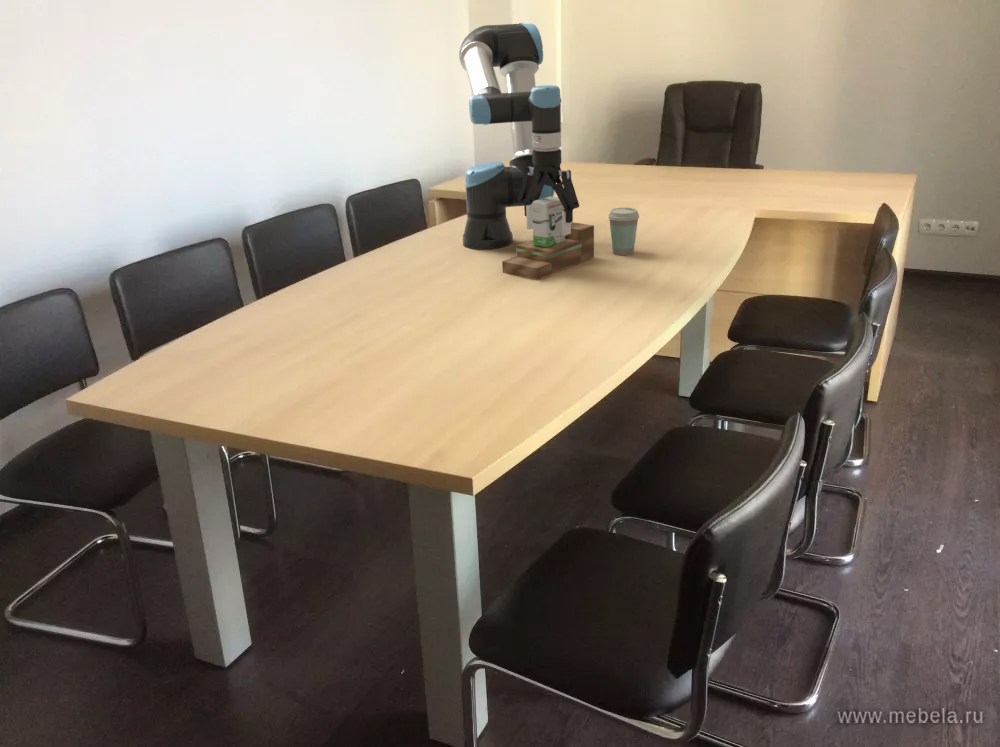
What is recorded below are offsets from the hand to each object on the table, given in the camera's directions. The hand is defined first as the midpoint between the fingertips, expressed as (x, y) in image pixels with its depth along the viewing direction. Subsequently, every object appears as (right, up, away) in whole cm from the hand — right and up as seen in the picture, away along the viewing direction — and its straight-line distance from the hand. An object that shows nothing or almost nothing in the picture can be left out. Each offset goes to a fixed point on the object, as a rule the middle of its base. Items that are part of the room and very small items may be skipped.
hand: (548, 231), depth 227 cm
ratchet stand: (0, -8, +4) cm, 9 cm away
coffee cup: (+22, -4, +12) cm, 25 cm away
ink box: (0, -3, +1) cm, 3 cm away
